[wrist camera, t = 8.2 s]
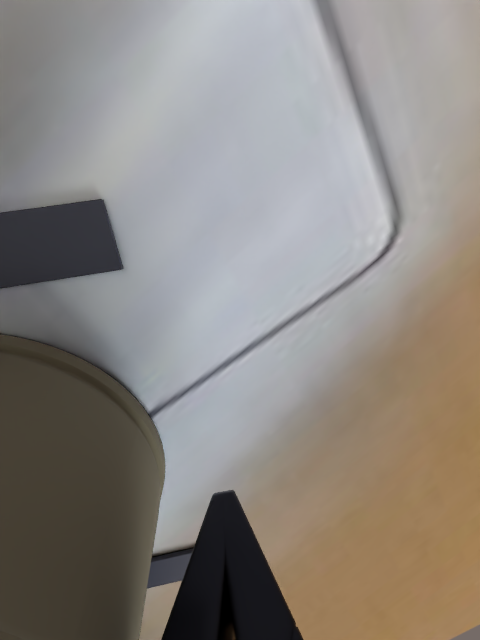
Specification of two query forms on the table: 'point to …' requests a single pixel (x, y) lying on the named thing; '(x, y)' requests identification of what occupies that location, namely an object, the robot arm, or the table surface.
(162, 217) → the table surface
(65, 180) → the table surface
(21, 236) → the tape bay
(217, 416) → the table surface
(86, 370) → the can
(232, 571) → the robot arm
